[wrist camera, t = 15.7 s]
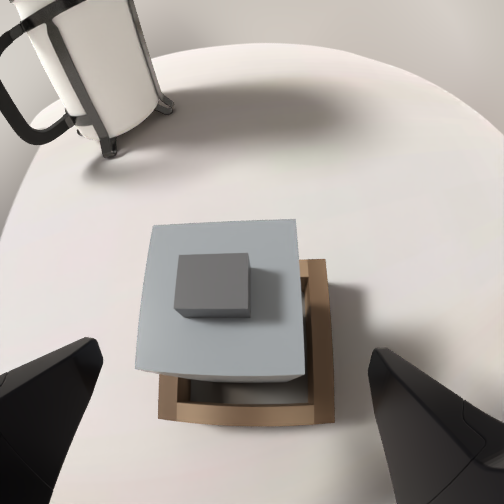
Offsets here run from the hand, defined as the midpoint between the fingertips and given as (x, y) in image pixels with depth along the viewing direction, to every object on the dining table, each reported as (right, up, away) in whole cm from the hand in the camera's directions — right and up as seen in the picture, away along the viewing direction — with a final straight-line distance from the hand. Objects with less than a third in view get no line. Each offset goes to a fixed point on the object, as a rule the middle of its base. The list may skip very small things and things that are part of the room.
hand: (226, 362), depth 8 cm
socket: (+1, -4, +12) cm, 13 cm away
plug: (+1, -3, +11) cm, 12 cm away
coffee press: (-17, +20, +26) cm, 37 cm away
